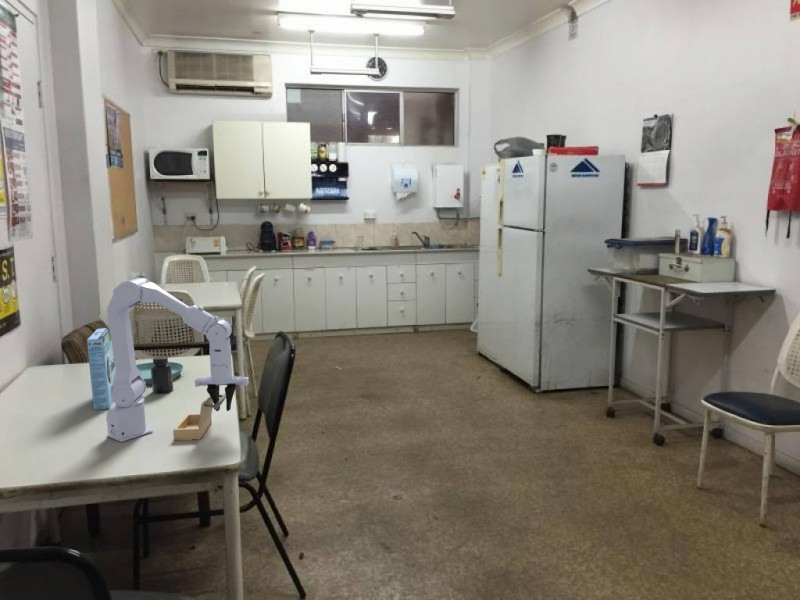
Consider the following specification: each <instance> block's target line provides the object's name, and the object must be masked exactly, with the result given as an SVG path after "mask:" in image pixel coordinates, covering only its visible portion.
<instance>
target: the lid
mask: <svg viewBox="0 0 800 600" xmlns="http://www.w3.org/2000/svg"><path fill="white" fill-rule="evenodd" d="M224 401H226V394H225V393H223V394H219V401H218V402H217V403H216V405H214V403H213V400H212V398H211V397H210V395H209V394H208V396H207V397H206V398H205V399H204V400H203V401H202V403H201V405H200V410H199V412H200V413H199V414H200V418H199V425H198V428H200V427H201V426H202V425H203V423H204V422H205V421H206V420H207V418H208V417H209V416H210V414H211V415H212V413H213V410H215V411H216V410H217V409H218V408H219V407H220V408H221V406H222V404H223V403H224Z"/></svg>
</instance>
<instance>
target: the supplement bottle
mask: <svg viewBox="0 0 800 600" xmlns="http://www.w3.org/2000/svg"><path fill="white" fill-rule="evenodd" d="M152 362H153V364H154V365H153V366H152V367H151V379H152V384H151V388H152V392H153V393H154V394H156V393H157V394H158V395H159V394H160V395H161V394H167V393H170V392H172V391H173V390H174V382H173V380H174V378H172V368H171V365H170V364H167V363H168V362H169V359H168V356H165V355H163V356H155V357H153V358H152Z"/></svg>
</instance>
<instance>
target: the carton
mask: <svg viewBox="0 0 800 600" xmlns="http://www.w3.org/2000/svg"><path fill="white" fill-rule="evenodd" d="M199 418H200V413H186V415H185V416H184V417H183V418H182V419H181V420H180V422H179V423H178V424H177V425H176V426H175V427H174V428H173V429H172V433H173V442H175V441H176V442H178V441H193V440H192V439H200V438H201V437H203V436H204V435H205V434H206V432H207V431H208V429H209V428H210V427H209V426H211V425H212V424H211V423H213V422H212V421H213V420H212V413H211V414H210V416H209V417H208V418H207V420H206V421H205V422H204V423H203V425H202V426H201V427H200V428H198V425H199ZM210 424H211V425H210ZM208 427H209V428H208ZM206 430H207V431H206ZM205 431H206V432H205ZM203 434H204V435H203ZM202 435H203V436H202ZM201 439H202V438H201ZM201 439H200V440H201Z"/></svg>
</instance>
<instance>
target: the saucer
mask: <svg viewBox="0 0 800 600" xmlns="http://www.w3.org/2000/svg"><path fill="white" fill-rule="evenodd" d="M167 364H170V365H171V368H172V378H173V379H176V378H177V377H178V376H179V375H180V374H181V373H182V371H183V369H184V365H183V364H182V363H178V362H176V361H175V362H173V361H168V363H167ZM153 365H154V364H153V361H151V362H145V363H138V364H136V367H137V368H138V369H139V370H140V372H141V376H142V378H143V380H144V381H145V383H146V384H149V385H152V379H151V367H152V366H153Z"/></svg>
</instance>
